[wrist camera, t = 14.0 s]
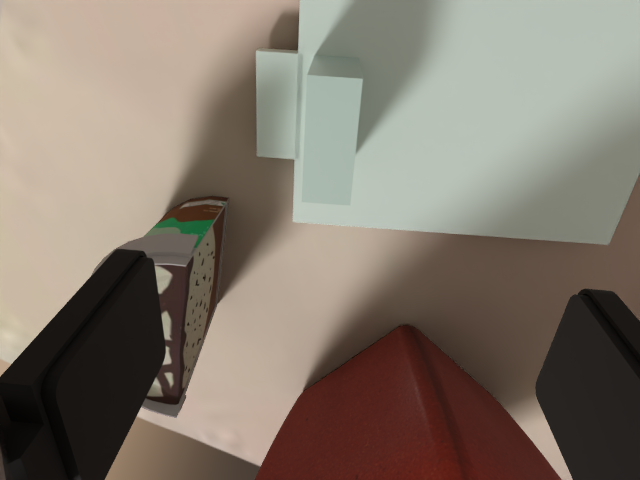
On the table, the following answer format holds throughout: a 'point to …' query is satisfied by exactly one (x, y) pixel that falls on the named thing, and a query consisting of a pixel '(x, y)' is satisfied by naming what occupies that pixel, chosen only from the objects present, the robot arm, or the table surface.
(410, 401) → the plant pot
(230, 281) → the table surface
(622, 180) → the lid
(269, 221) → the table surface
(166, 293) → the food container
